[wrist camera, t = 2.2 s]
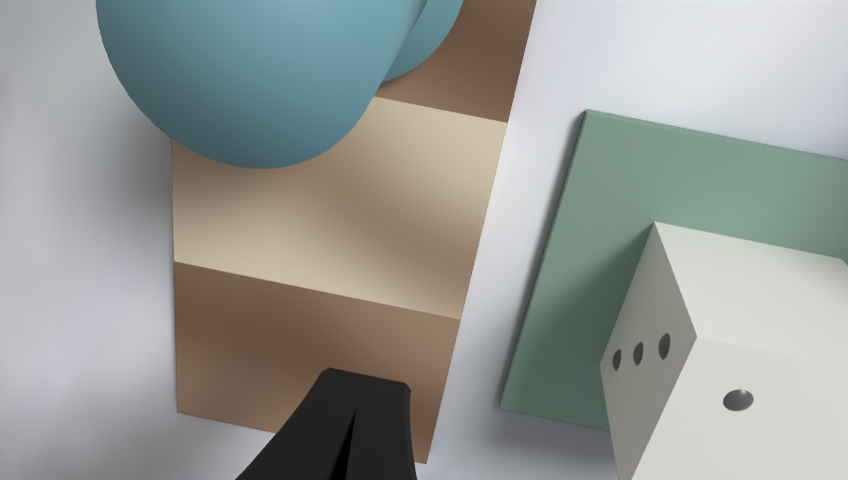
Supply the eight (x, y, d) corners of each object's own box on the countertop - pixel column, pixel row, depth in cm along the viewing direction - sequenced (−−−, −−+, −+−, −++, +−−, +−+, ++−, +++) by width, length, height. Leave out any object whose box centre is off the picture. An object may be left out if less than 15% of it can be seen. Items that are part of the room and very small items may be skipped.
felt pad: (882, 479, 18) (888, 488, 17) (500, 400, 18) (499, 409, 18) (1082, 207, 14) (1093, 213, 13) (586, 109, 14) (588, 113, 14)
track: (427, 456, 19) (426, 464, 19) (182, 404, 19) (177, 412, 19) (674, -590, 9) (679, -603, 9) (161, -681, 9) (151, -696, 9)
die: (762, 401, 17) (829, 551, 13) (594, 367, 17) (615, 507, 13) (842, 259, 15) (947, 391, 11) (649, 220, 15) (692, 339, 11)
